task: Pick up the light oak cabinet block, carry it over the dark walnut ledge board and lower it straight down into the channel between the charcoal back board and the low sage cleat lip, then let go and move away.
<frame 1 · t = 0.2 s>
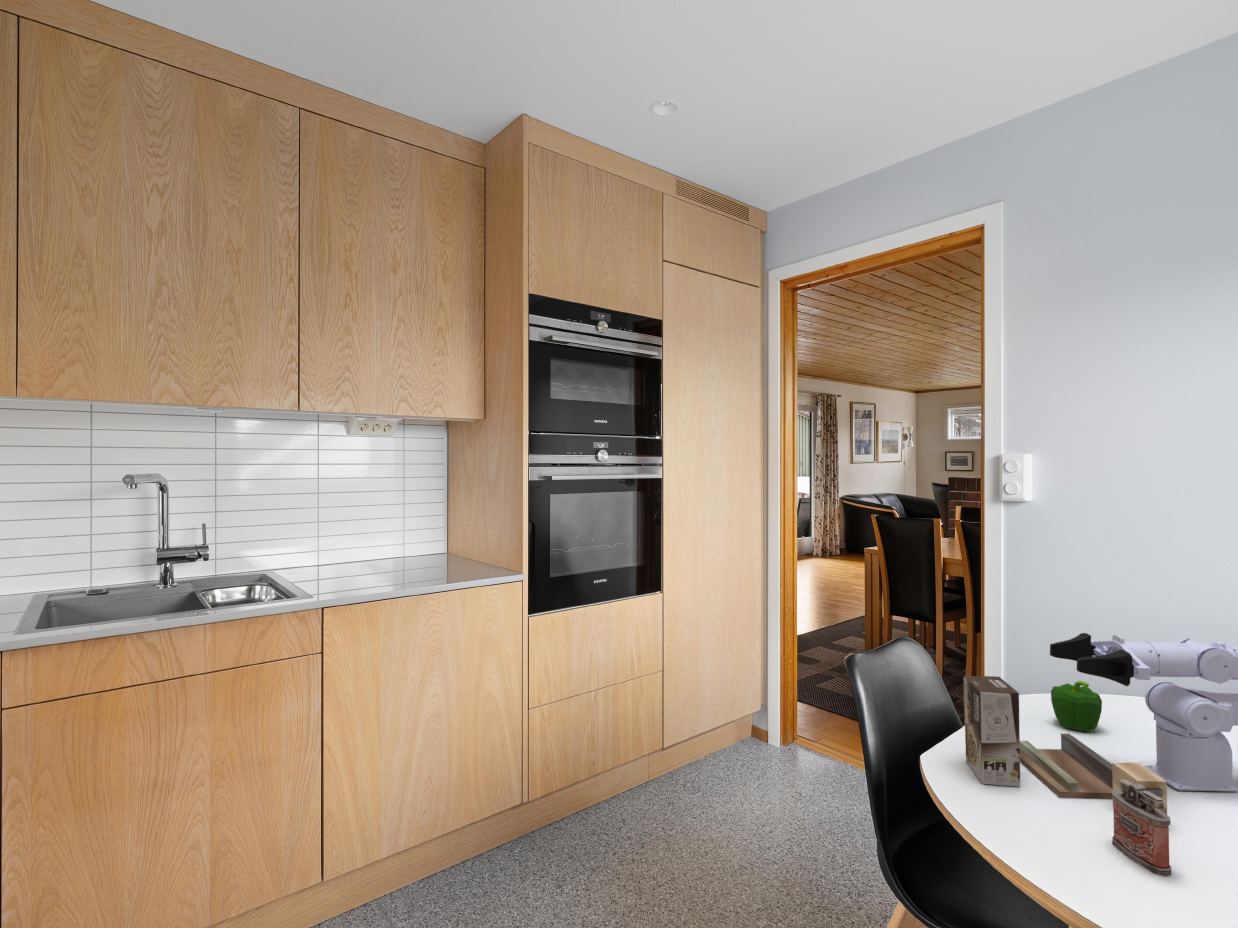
hand: (1064, 657, 113), 21 cm above the table, tool horizontal, fingers open, 7 cm apart
oak cabinet block: (1139, 816, 101), on the table
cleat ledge: (1069, 774, 115), on the table
coffee box: (992, 774, 116), on the table
bell pepper: (1076, 728, 134), on the table
lighter: (1140, 859, 91), on the table
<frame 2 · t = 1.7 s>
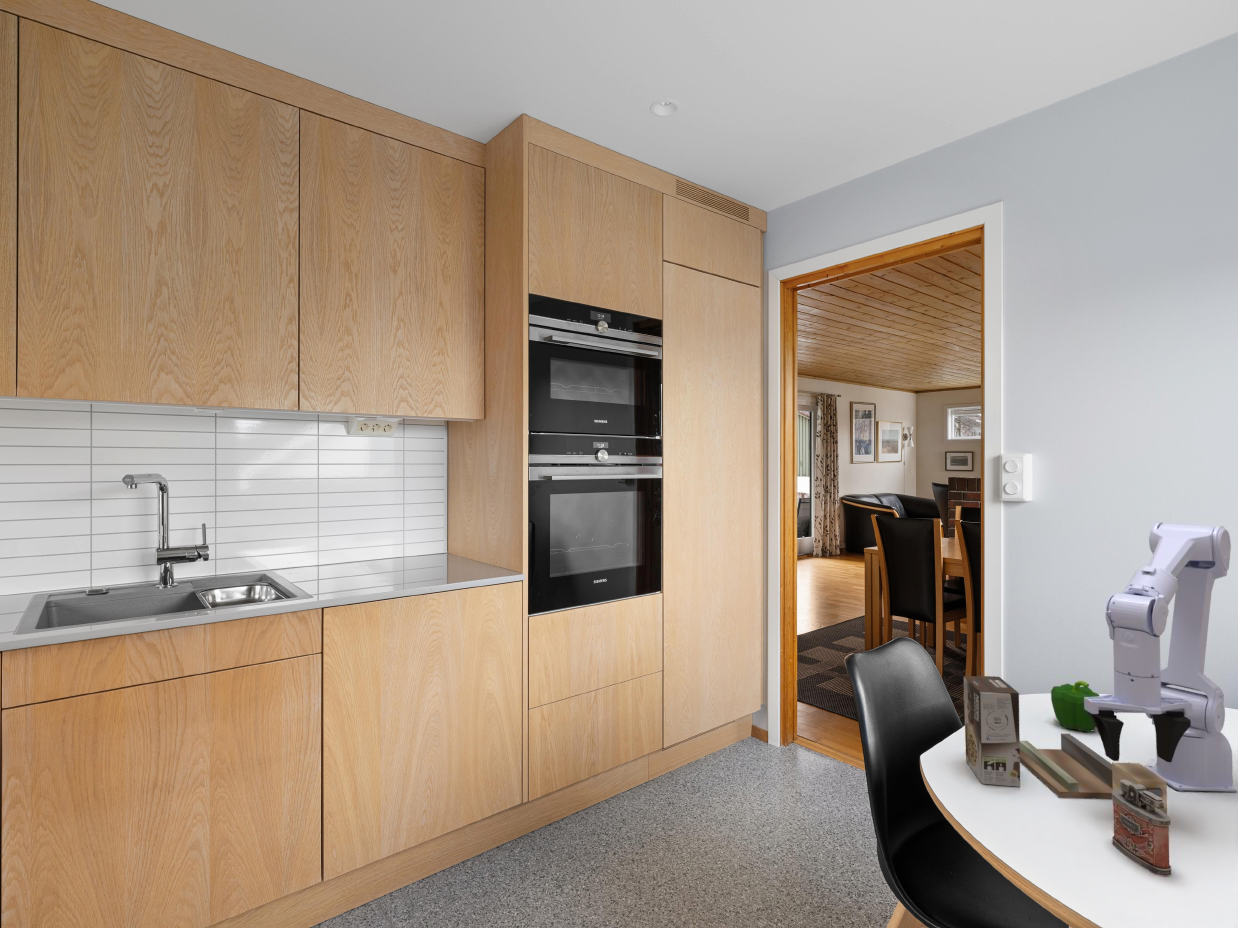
hand: (1138, 758, 101), 9 cm above the table, tool pointing down, fingers open, 7 cm apart
nothing on the table moved.
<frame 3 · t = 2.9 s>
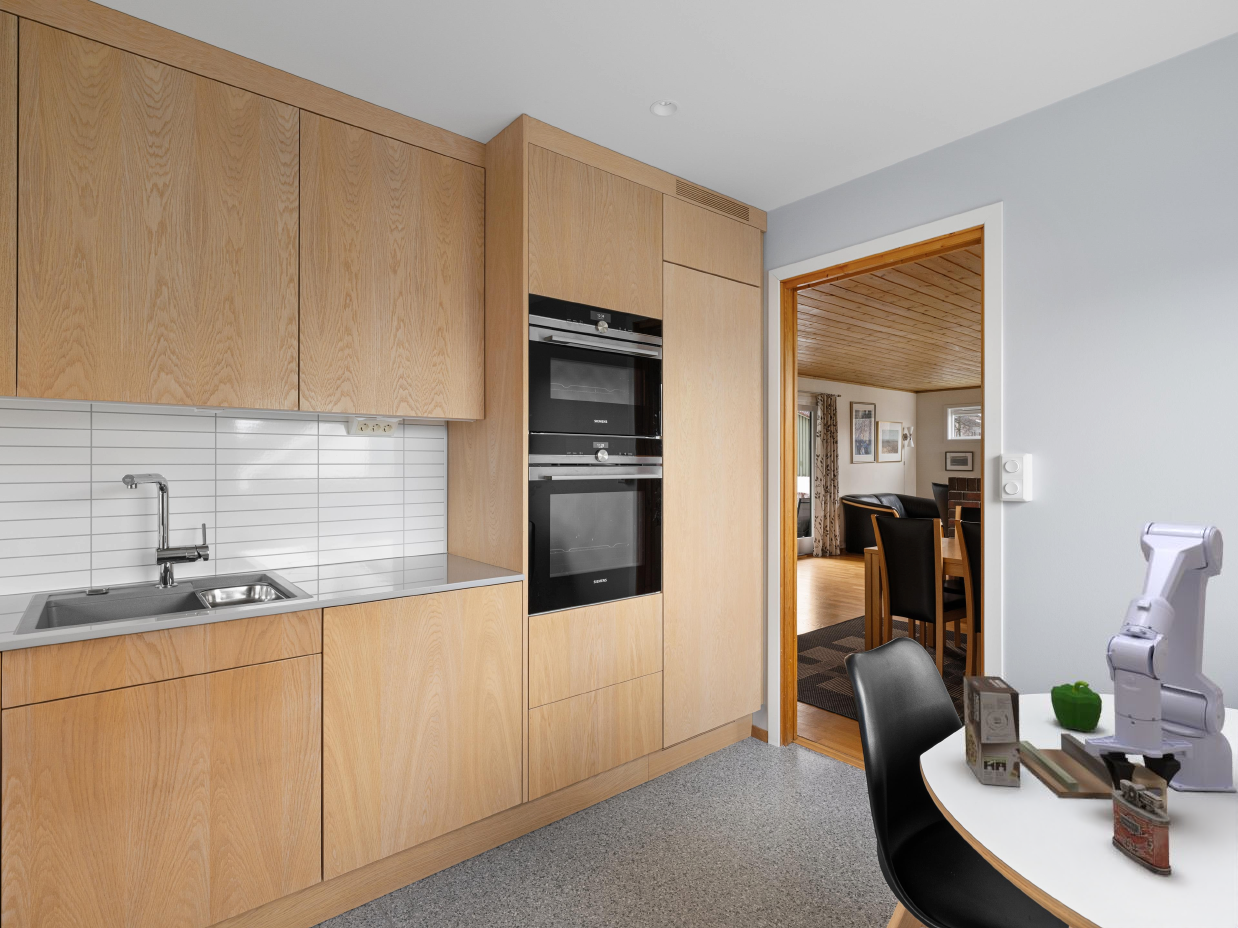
hand: (1139, 800, 101), 2 cm above the table, tool pointing down, fingers closed on oak cabinet block, 4 cm apart
oak cabinet block: (1139, 815, 101), on the table, touching gripper
everything else where it was.
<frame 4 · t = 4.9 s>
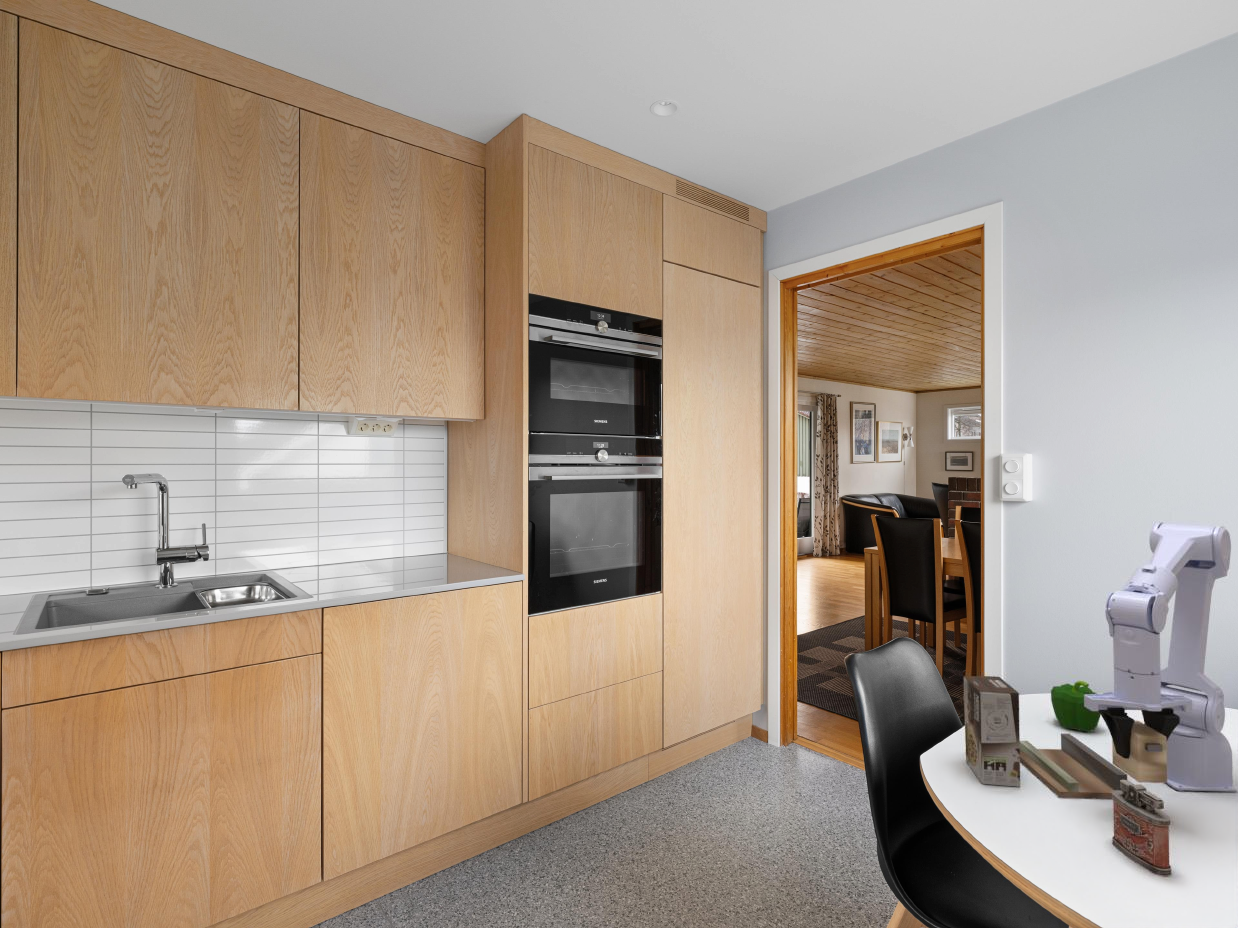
hand: (1138, 755, 101), 9 cm above the table, tool pointing down, fingers closed on oak cabinet block, 4 cm apart
oak cabinet block: (1139, 772, 101), point 7 cm above the table, touching gripper
everything else where it was.
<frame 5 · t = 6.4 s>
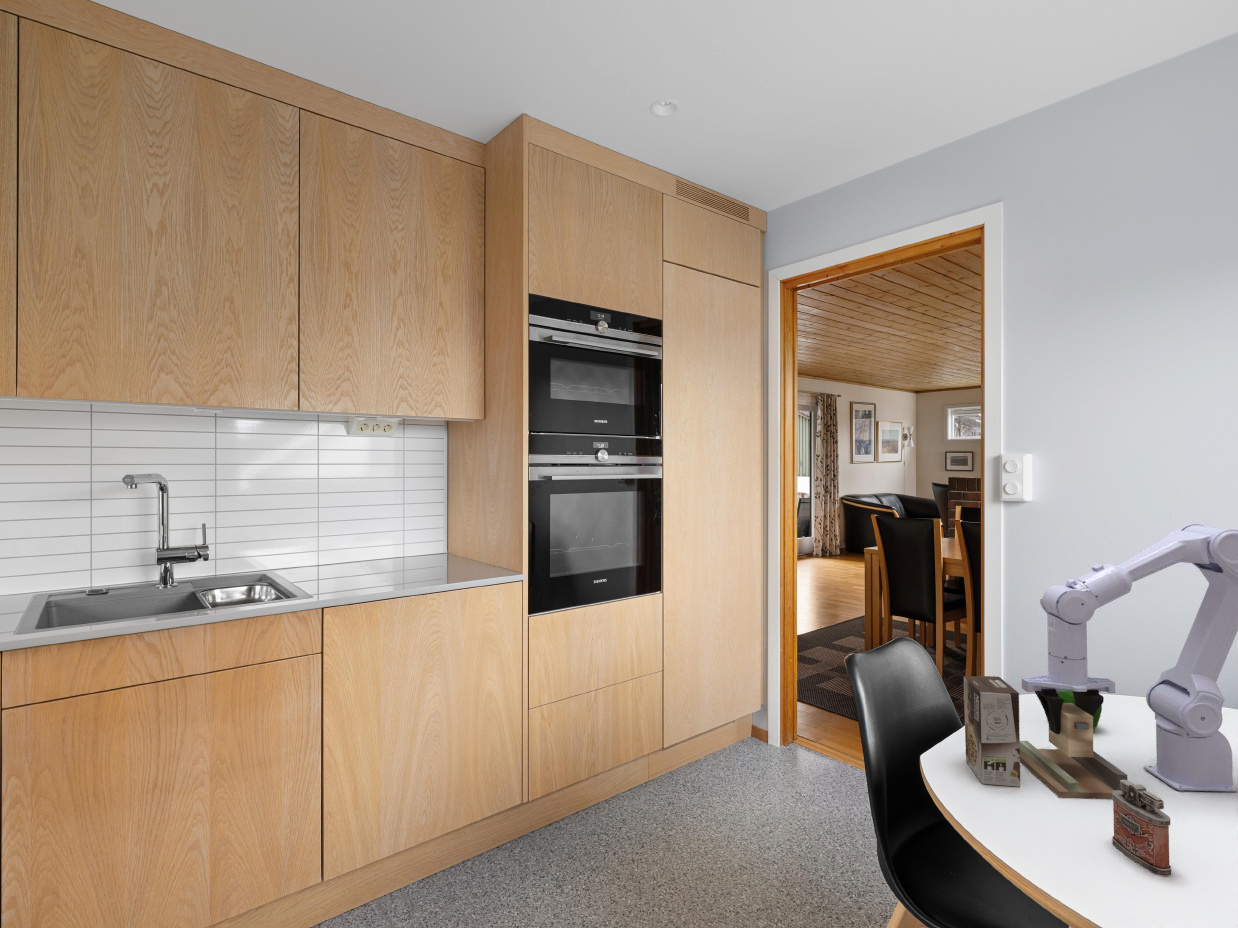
hand: (1068, 731, 115), 8 cm above the table, tool pointing down, fingers closed on oak cabinet block, 4 cm apart
oak cabinet block: (1070, 748, 114), point 5 cm above the table, touching gripper
everything else where it was.
when the fingers open (5 cm above the table, at t = 7.2 s): oak cabinet block drops 1 cm, resting on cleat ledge.
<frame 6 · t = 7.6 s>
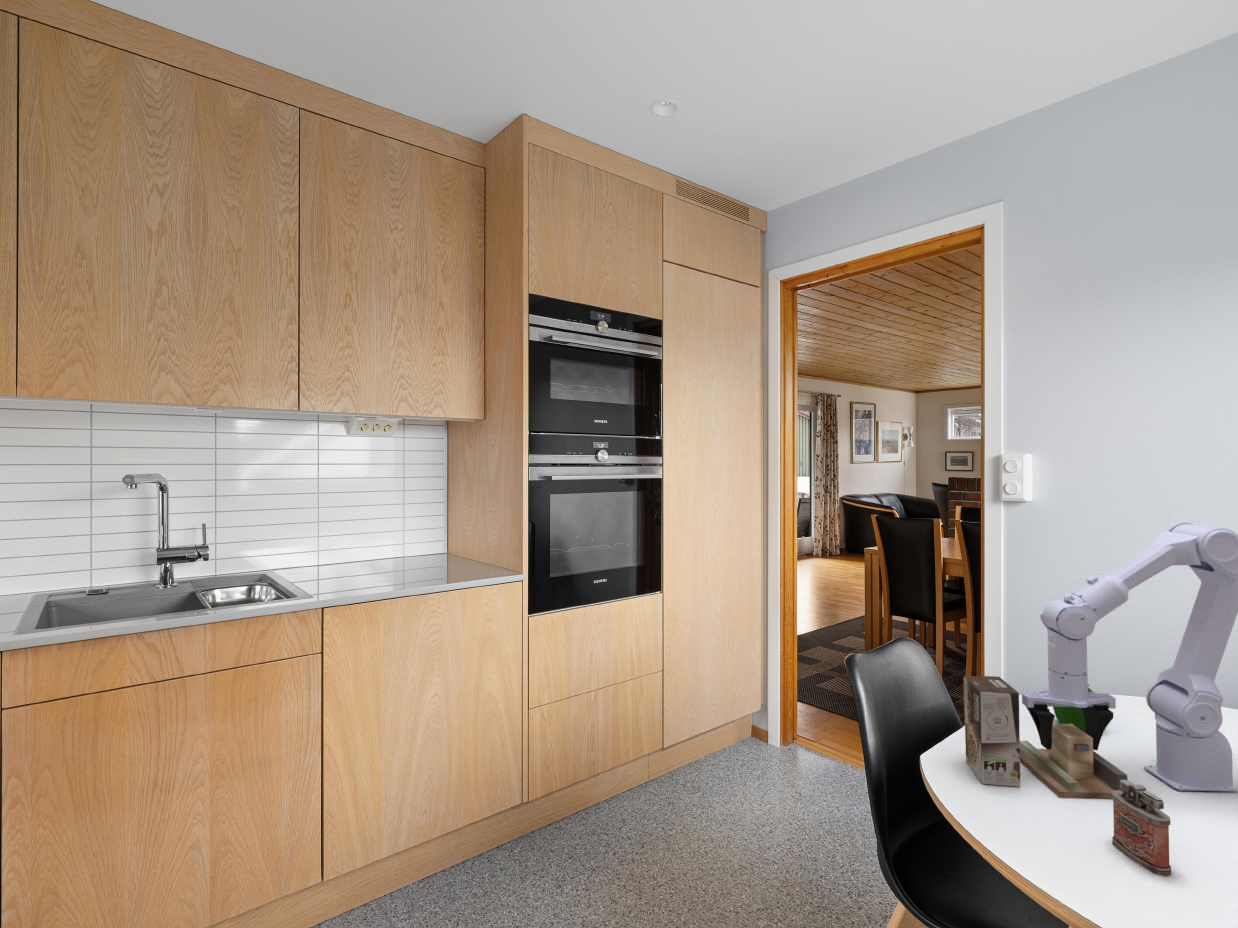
hand: (1069, 747, 115), 5 cm above the table, tool pointing down, fingers open, 7 cm apart
oak cabinet block: (1070, 770, 114), point 1 cm above the table, touching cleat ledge
everything else where it was.
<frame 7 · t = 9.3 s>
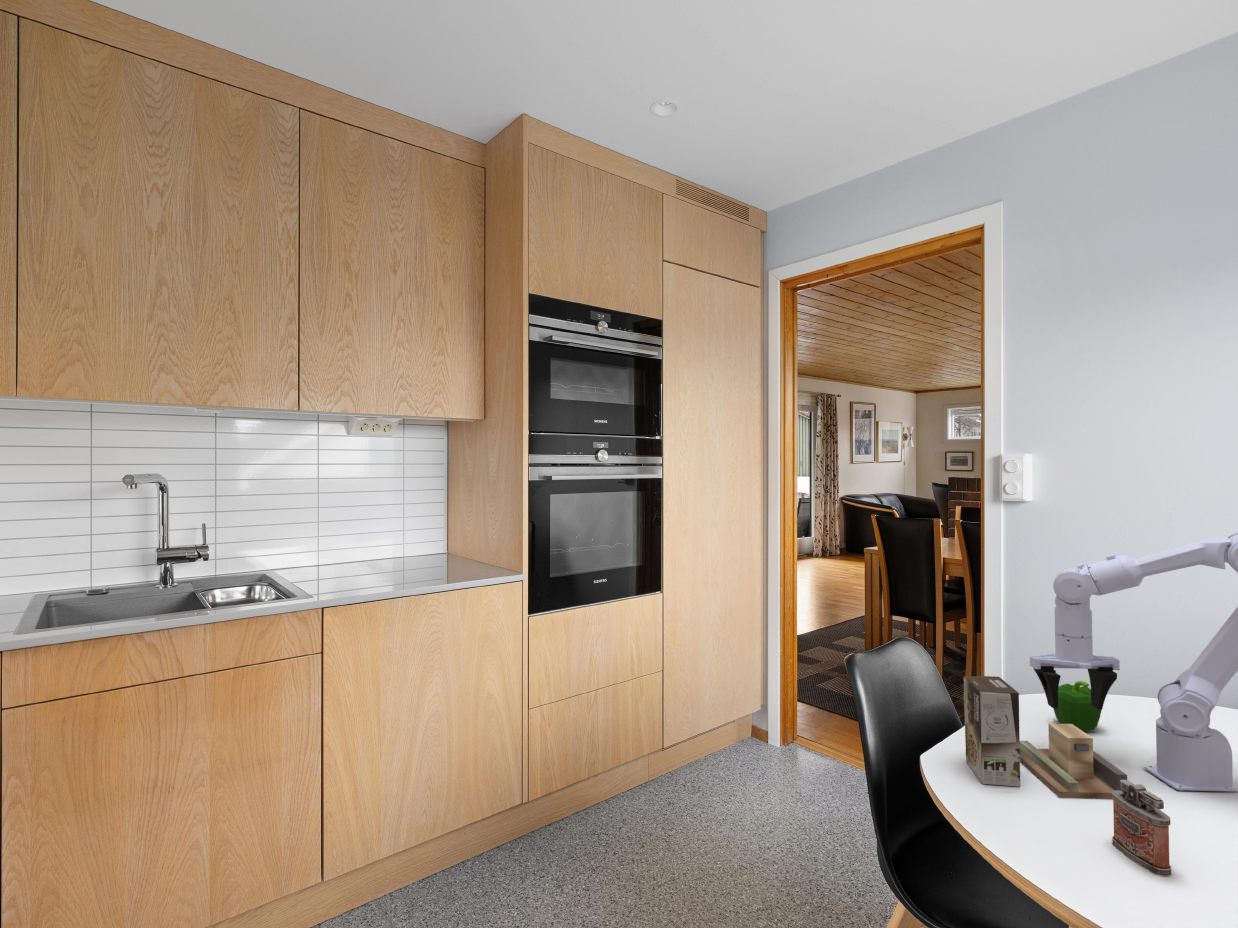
hand: (1074, 706, 121), 9 cm above the table, tool pointing down, fingers open, 7 cm apart
nothing on the table moved.
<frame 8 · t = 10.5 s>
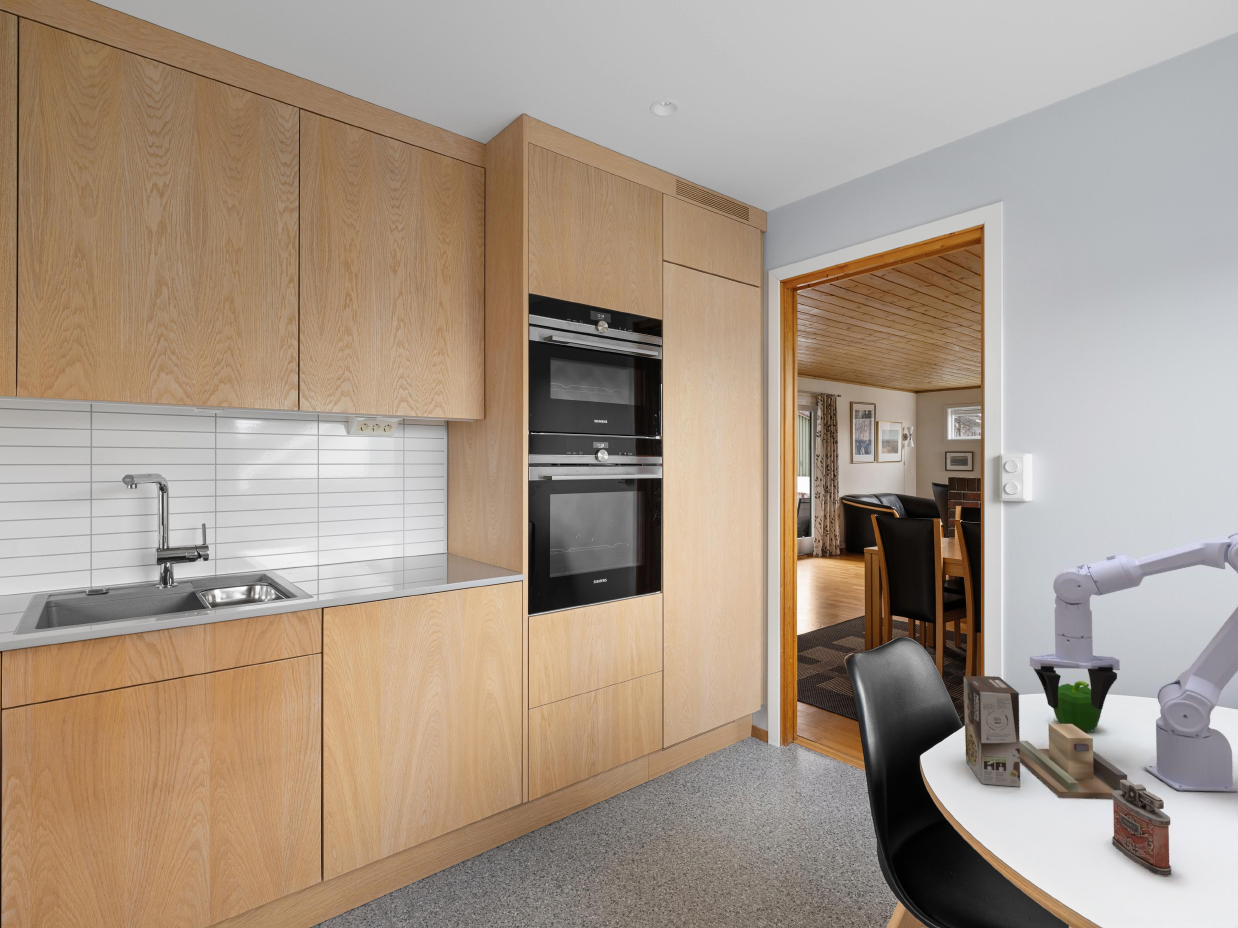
hand: (1074, 706, 121), 9 cm above the table, tool pointing down, fingers open, 7 cm apart
nothing on the table moved.
at the end: oak cabinet block inside the target area on the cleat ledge (0.4 cm from its centre), point 1.0 cm above the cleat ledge's base; oak cabinet block tilted 0°; the gripper is holding nothing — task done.
